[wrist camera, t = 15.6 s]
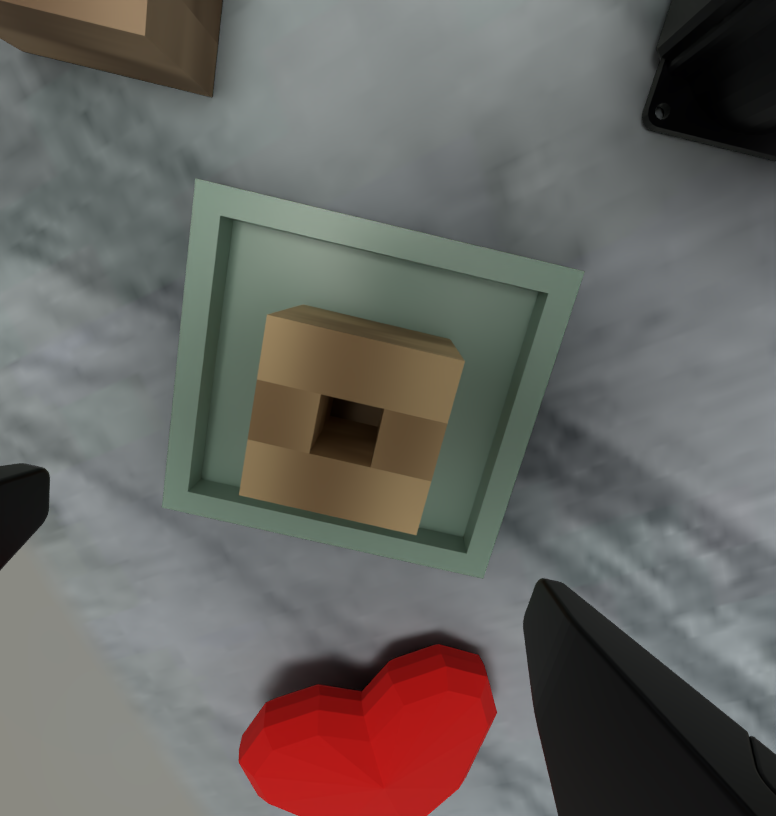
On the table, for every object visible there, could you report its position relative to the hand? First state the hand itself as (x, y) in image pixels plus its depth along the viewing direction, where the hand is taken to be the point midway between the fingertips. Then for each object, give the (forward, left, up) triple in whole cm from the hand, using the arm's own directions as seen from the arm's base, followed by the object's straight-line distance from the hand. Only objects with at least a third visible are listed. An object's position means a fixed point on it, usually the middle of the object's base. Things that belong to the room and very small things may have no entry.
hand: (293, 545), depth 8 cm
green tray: (0, 0, -12) cm, 12 cm away
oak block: (0, 0, -12) cm, 12 cm away
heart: (-5, +17, -12) cm, 22 cm away
